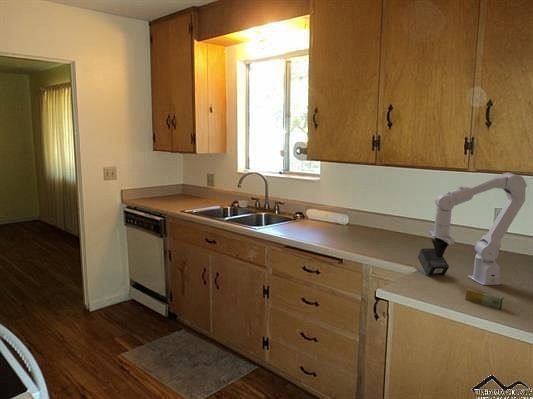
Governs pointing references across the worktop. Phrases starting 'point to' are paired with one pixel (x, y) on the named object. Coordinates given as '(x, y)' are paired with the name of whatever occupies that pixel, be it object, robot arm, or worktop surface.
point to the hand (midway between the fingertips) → (439, 256)
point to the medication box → (485, 298)
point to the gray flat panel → (421, 270)
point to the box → (432, 262)
